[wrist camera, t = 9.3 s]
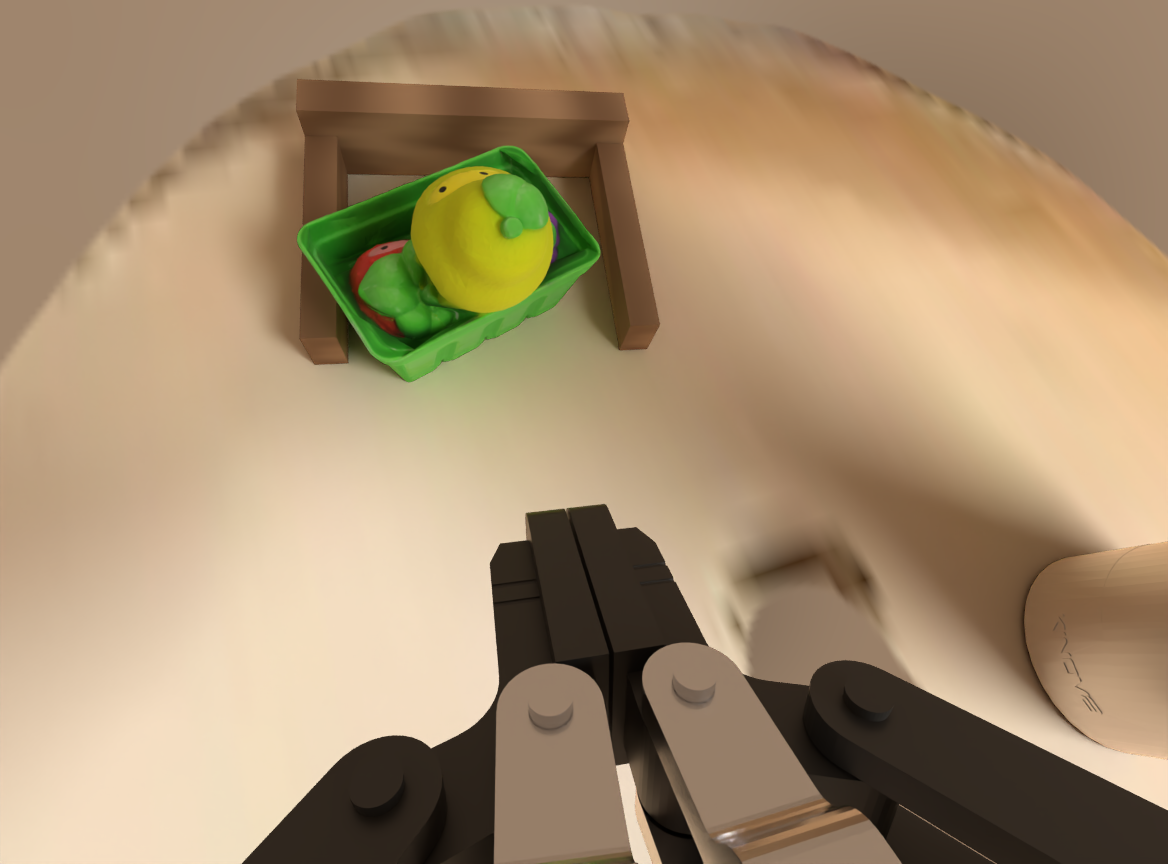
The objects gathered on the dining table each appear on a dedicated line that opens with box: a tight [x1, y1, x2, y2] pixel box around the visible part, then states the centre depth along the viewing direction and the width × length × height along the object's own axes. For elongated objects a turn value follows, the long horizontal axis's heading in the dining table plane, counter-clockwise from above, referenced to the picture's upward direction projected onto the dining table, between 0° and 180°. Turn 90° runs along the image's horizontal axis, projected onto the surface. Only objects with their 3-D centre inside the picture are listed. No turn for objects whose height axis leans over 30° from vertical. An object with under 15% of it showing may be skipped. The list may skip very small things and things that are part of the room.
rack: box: [296, 79, 660, 365], centre depth 30 cm, size 16×14×4 cm
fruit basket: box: [297, 146, 600, 382], centre depth 25 cm, size 11×9×11 cm
